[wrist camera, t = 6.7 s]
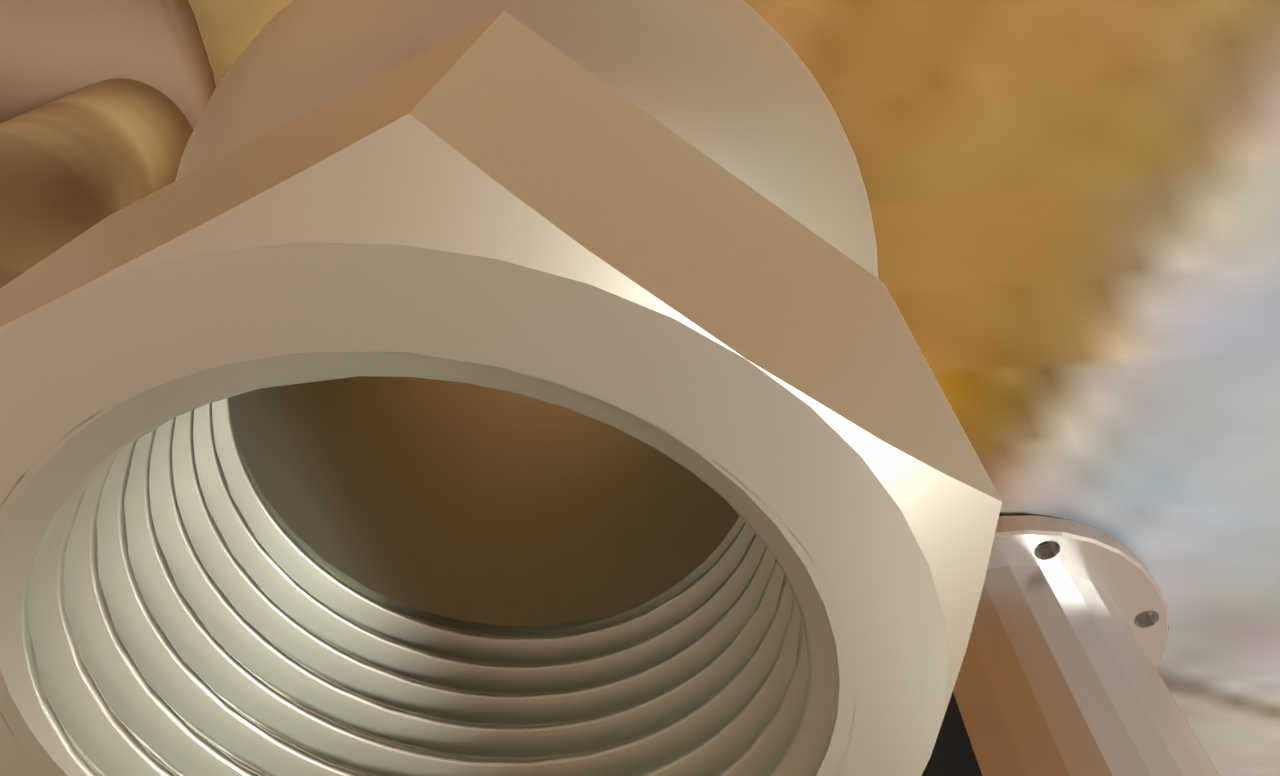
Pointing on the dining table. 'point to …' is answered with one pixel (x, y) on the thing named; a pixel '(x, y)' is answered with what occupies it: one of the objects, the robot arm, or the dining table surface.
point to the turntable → (90, 114)
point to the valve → (485, 423)
